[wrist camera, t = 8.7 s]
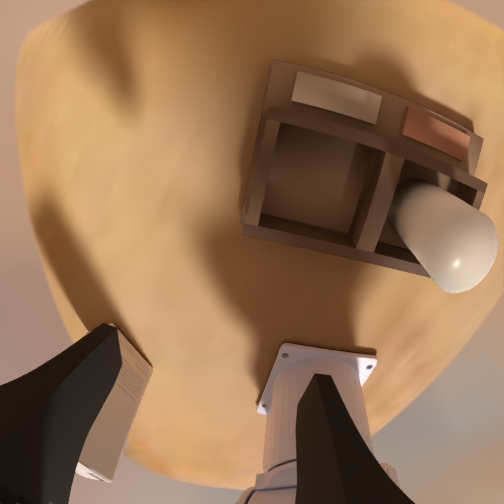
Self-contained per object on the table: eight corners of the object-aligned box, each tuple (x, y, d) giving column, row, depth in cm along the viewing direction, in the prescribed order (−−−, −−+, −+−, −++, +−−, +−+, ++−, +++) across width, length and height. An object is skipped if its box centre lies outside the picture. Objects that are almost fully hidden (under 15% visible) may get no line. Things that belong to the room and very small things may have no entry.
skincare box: (86, 331, 23) (18, 430, 12) (115, 319, 22) (41, 435, 11) (127, 376, 25) (79, 477, 14) (159, 369, 24) (112, 485, 13)
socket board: (432, 262, 17) (451, 286, 14) (242, 216, 17) (234, 236, 14) (474, 136, 13) (503, 143, 10) (273, 63, 13) (272, 51, 10)
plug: (426, 245, 16) (473, 300, 10) (377, 227, 16) (415, 282, 10) (449, 191, 14) (509, 228, 9) (400, 168, 14) (453, 197, 9)
